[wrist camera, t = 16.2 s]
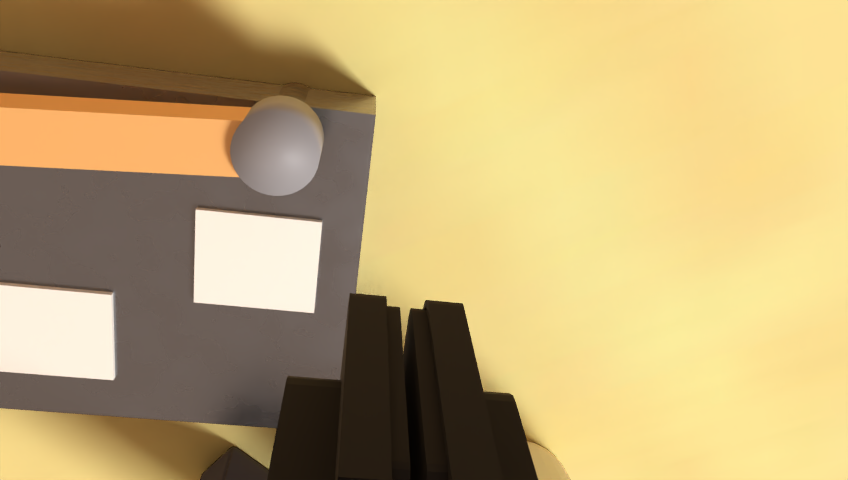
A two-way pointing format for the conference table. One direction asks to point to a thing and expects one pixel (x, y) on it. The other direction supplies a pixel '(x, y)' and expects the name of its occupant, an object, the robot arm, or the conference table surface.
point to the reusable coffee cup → (546, 464)
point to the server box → (179, 255)
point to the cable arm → (166, 138)
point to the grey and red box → (235, 467)
